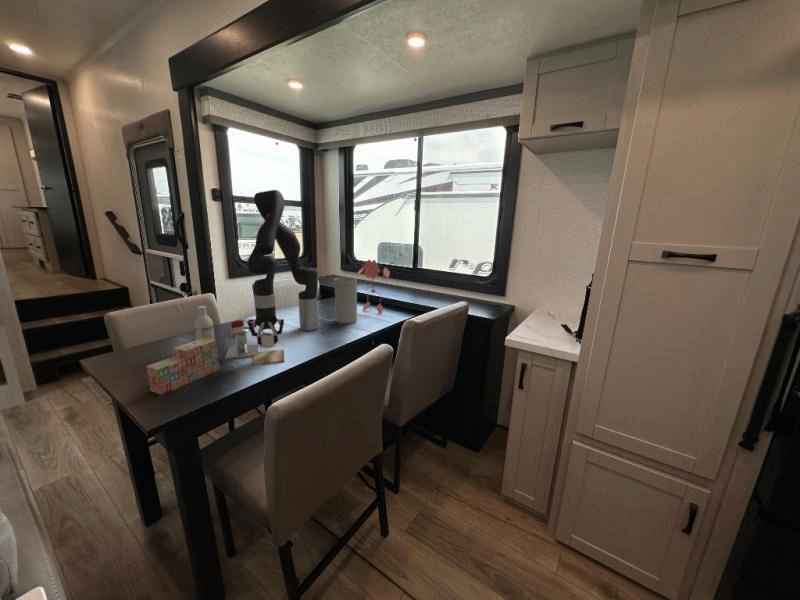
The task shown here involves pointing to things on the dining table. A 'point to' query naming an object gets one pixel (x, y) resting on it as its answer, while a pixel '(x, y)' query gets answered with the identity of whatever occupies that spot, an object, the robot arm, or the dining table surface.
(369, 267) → the figurine
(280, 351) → the coaster
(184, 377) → the stack of blocks
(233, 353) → the knob on square base
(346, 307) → the cylinder vase
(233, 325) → the glasses
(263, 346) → the cap
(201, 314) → the bath foam
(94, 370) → the dining table surface
